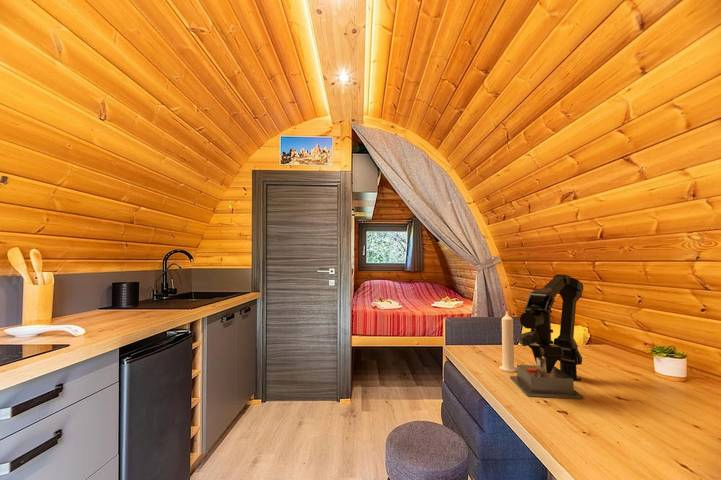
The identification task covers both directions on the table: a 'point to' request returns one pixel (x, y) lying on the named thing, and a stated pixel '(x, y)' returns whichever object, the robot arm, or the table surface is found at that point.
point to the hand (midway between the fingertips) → (543, 368)
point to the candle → (507, 344)
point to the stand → (545, 383)
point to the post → (541, 365)
